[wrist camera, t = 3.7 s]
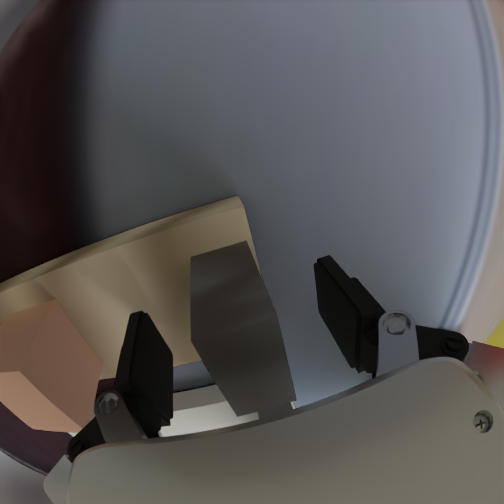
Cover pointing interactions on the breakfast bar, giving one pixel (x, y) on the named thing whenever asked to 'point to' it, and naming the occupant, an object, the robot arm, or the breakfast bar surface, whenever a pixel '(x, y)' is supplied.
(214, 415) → the light grey piece
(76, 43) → the breakfast bar surface
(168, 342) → the birch strip
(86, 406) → the terracotta block
